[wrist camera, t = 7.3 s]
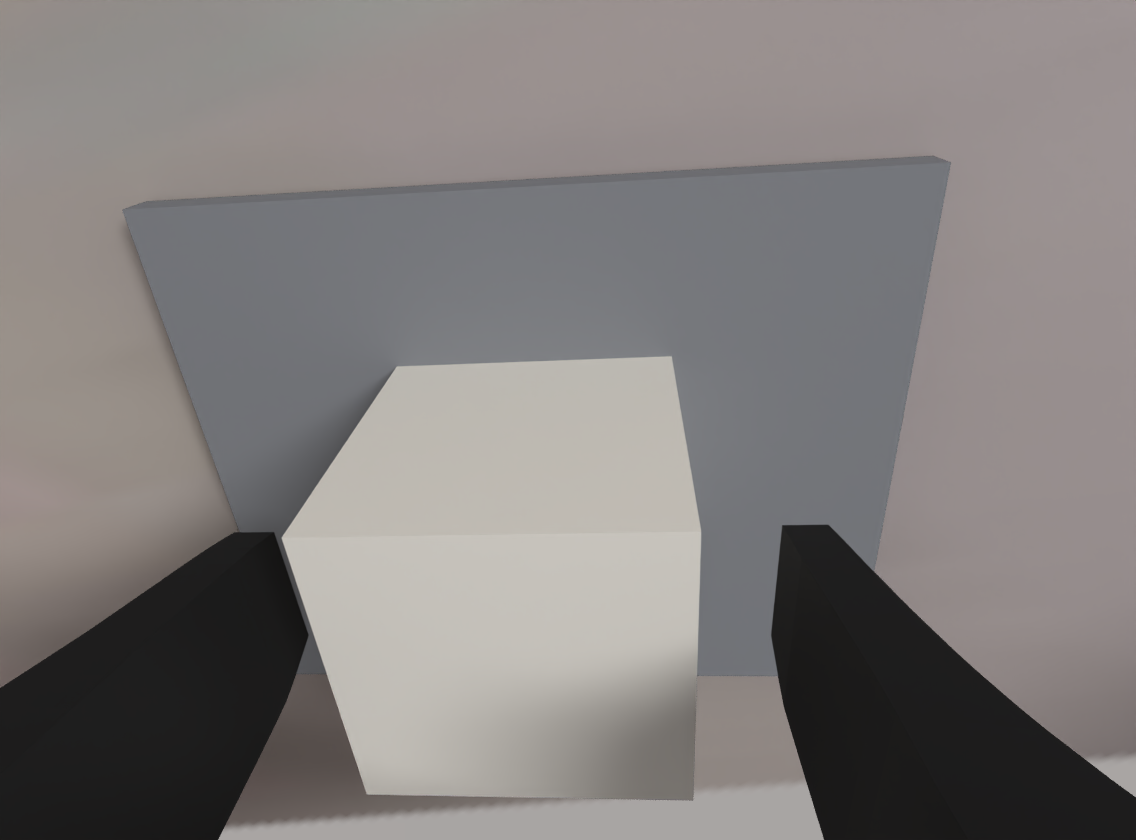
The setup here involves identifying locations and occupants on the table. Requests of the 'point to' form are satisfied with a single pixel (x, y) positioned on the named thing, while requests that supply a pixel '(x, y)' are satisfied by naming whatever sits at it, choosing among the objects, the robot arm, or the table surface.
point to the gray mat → (574, 334)
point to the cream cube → (511, 582)
